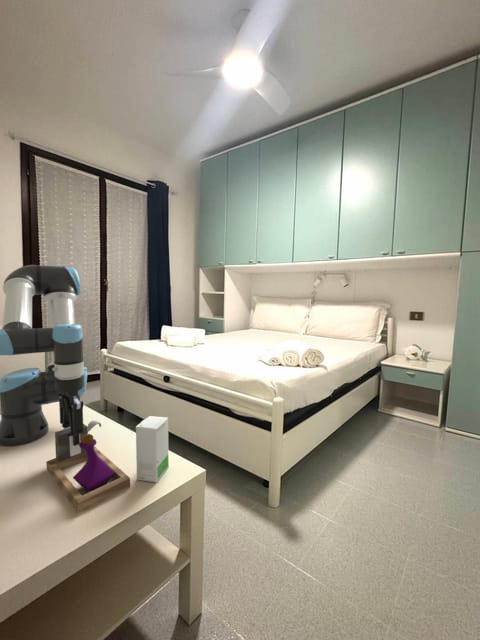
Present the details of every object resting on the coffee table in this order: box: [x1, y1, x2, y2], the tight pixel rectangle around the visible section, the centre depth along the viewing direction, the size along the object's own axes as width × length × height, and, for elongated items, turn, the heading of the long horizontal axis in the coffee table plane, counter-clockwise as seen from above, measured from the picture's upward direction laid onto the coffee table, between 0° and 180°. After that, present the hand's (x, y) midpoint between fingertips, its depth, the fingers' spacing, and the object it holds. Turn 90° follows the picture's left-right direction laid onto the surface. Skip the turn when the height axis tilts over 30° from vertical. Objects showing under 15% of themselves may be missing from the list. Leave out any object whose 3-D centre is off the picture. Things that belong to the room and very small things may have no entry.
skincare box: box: [135, 415, 170, 483], centre depth 86 cm, size 8×7×16 cm
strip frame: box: [45, 423, 131, 513], centre depth 83 cm, size 24×13×10 cm, turn 48°
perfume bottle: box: [72, 420, 115, 493], centre depth 79 cm, size 8×8×18 cm
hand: (72, 450), depth 90 cm, fingers open, 4 cm apart
